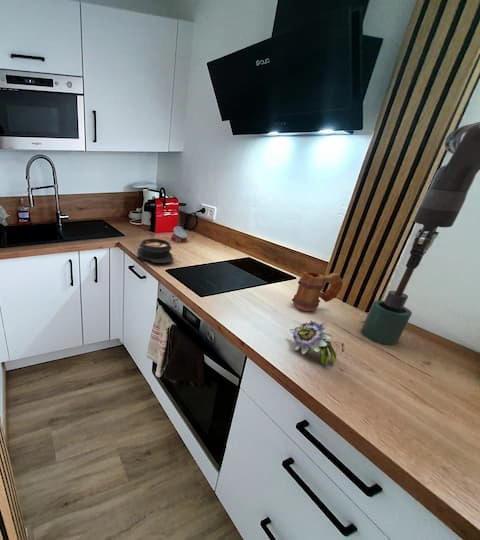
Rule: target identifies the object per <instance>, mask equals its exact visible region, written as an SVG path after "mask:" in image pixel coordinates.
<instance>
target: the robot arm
mask: <svg viewBox="0 0 480 540" xmlns="http://www.w3.org/2000/svg"><path fill="white" fill-rule="evenodd" d="M443 145H444V149H445V150H446V151H447V153H450V154H452V155H451V157H450V158H449V160H448V162H447V163H446V164H445V165H443V166H441V167H440V168H438V170H437V171H436V173H435V175H434V177H433V179H432V181H431V183H430V186H429V188H428V190H427V192H425V195H424V196H423V198H422V201H421V203H420V205H419V206H418V209H417V212H416V214H415V216H414V219H413V222H414V223H415V224H419V225H423V226H422V227H421V228H419V229H418V230H417V231H416V233H415V235H414V236H415V238H414V240H413V242H412V244H411V248H410V249H411V250H410V251H409V254H410V256H409V258H408V260H407V263H406V264H405V267H406V268H407V267H408V268H412V269H414V270H415V269H417V268H418V267H419V266H420V264H421V261H422V259H423V257H424V256H425V255H426V254H427V251H429V249H430V248H431V247H432V245H433V243H434V242H435V240H436V239H437V238H438V237H439V233H440V231H437V229H438V228H451V227H453V226H454V224H455V222H456V220H457V218H458V216H459V214H460V212H461V210H462V208H463V206H464V204H465V202H466V199H467V196H468V193H469V191H470V189H471V187H472V185H473V183H474V180H475V179H476V177H477V174H478V173H479V172H480V121H477V122H473V123H468V124H466V125H463V126H460V127H458V128H456V129H455V130H452V132H450V133H449V134H448V135H447V137H446V138H445V140H444V144H443ZM415 249H418V250H421V251H417V250H415Z"/></svg>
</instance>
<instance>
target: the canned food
mask: <svg viewBox="0 0 480 540" xmlns="http://www.w3.org/2000/svg"><path fill="white" fill-rule="evenodd" d="M172 231H173V234H171V238H170V240H171V241H172V242H174V243H178V244H179V243H181V244H183V243H186V242H187V241H188V233H187V231H186V230H185V229H184V228H183V227H182V226H180V225H176V226H175V227H174V228H173V230H172Z"/></svg>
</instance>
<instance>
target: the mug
mask: <svg viewBox="0 0 480 540" xmlns="http://www.w3.org/2000/svg"><path fill="white" fill-rule="evenodd" d="M326 283H328V284H330V285H331V286H330V287H329V289H328V290H327V291H325V292H322V289H324V287H325V285H326ZM297 284H298V286H297V289H296V293H295V294H294V295H293V298H292V299H291V301H292V305H293V306H294V307H295V308H297V309H298V310H301V311H302V312H303V311H304V312H312V311H315V310H316V309H317V308H318V307H319V306H320V304H319V303H321V300H323V301H324V303H329V302H331V301H332V300H334V299H335V298H336V297H338V295H339V294H340V292H342V291H341V290H342V289H343V285H344V282H343V279H342V277H341V276H340V274H338V273H336V272H331V273H329V274H327V275H324V274H323V273H321V274H320V273H319V272H316V271H310V270H309V271H304V272H303V273H302V276H301V277H300V278H299V280H298V281H297Z"/></svg>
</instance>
